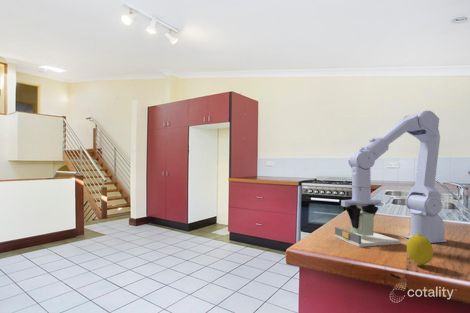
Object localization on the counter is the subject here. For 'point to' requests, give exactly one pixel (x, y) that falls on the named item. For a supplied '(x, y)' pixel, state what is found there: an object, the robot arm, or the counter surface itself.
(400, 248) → the counter surface
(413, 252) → the lemon
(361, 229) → the carton
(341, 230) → the shelf board
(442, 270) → the counter surface
